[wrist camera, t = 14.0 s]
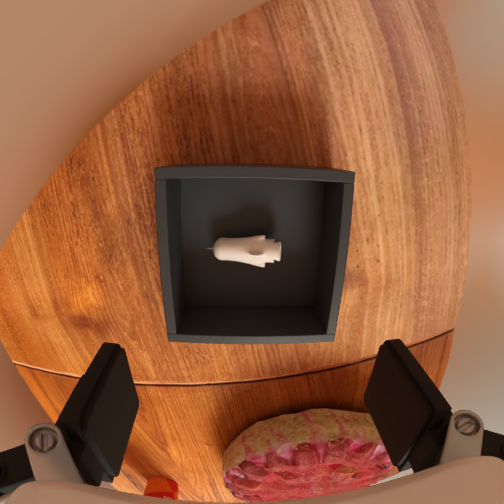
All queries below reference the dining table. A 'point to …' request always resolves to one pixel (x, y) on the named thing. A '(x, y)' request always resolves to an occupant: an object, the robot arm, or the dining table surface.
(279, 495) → the cake
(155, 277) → the dining table surface
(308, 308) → the bin
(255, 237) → the small white plastic part
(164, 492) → the paper cup
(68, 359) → the dining table surface
